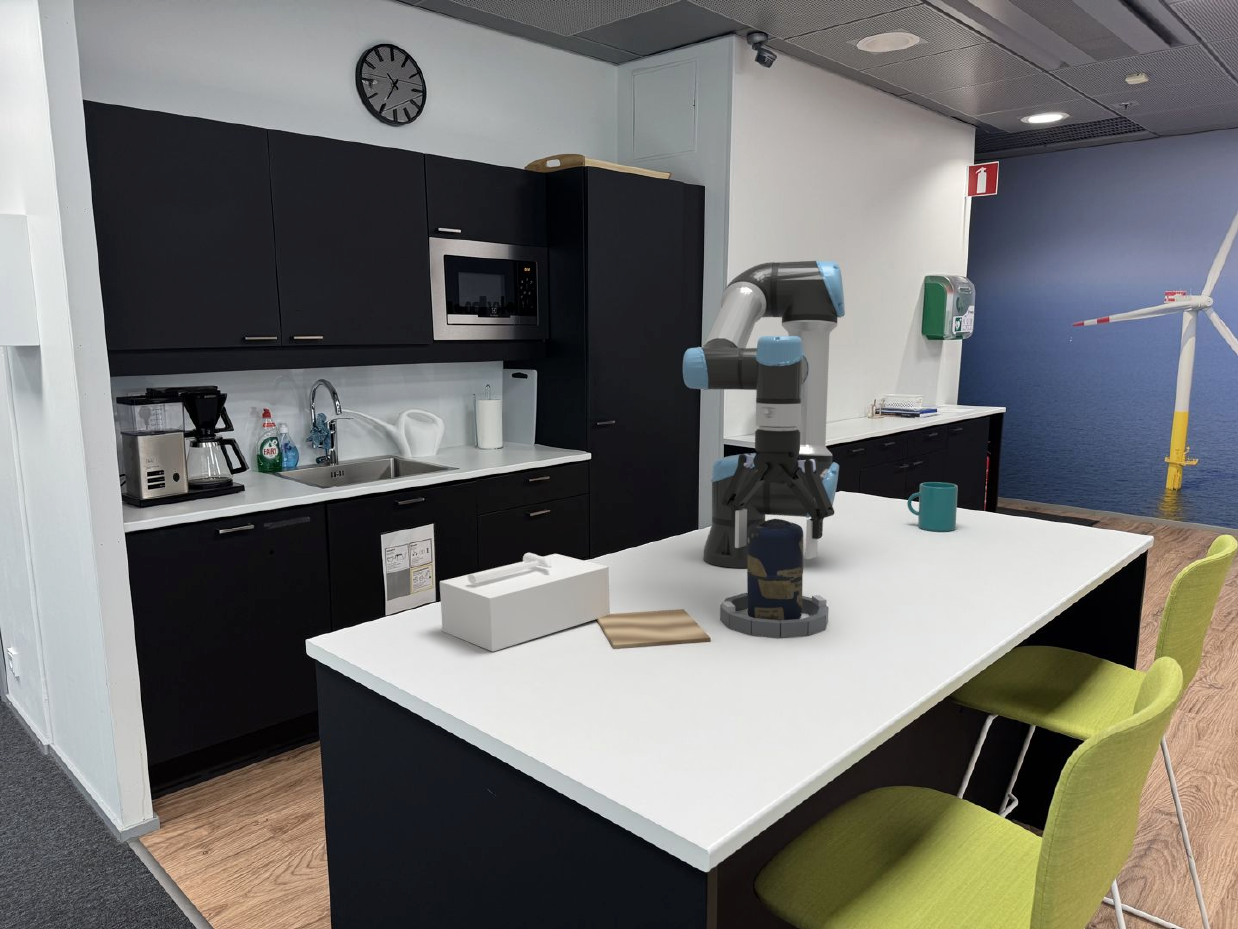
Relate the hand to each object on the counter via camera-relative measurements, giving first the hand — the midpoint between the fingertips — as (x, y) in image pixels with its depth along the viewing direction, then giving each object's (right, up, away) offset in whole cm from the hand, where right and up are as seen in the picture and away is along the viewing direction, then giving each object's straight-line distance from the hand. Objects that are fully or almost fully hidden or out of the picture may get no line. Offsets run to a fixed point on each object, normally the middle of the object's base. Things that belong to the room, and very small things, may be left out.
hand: (775, 552), depth 156 cm
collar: (0, -12, +2) cm, 12 cm away
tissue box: (-42, -12, 0) cm, 44 cm away
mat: (-21, -13, -2) cm, 25 cm away
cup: (+53, -1, +77) cm, 93 cm away
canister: (0, -12, +2) cm, 13 cm away
